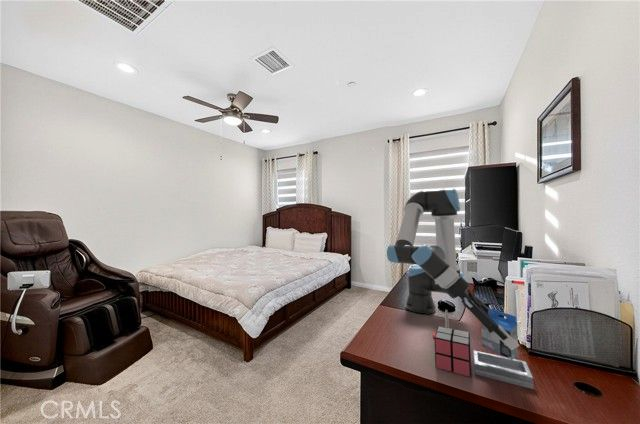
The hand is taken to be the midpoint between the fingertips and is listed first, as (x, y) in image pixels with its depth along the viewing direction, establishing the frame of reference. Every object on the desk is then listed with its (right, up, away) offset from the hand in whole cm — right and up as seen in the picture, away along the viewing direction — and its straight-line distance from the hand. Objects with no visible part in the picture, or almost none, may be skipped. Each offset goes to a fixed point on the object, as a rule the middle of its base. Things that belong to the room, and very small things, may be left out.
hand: (512, 340), depth 74 cm
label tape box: (-3, -4, +2) cm, 6 cm away
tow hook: (-9, -12, +24) cm, 28 cm away
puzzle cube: (-15, -12, +6) cm, 20 cm away
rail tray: (-2, -11, +2) cm, 11 cm away
